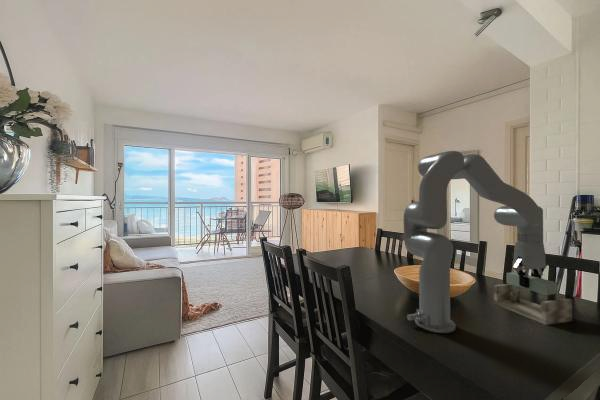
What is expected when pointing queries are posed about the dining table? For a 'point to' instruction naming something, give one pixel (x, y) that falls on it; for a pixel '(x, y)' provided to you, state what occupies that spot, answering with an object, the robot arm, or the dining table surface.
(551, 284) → the grey-green rectangular block
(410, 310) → the dining table surface
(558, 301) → the shelf frame
